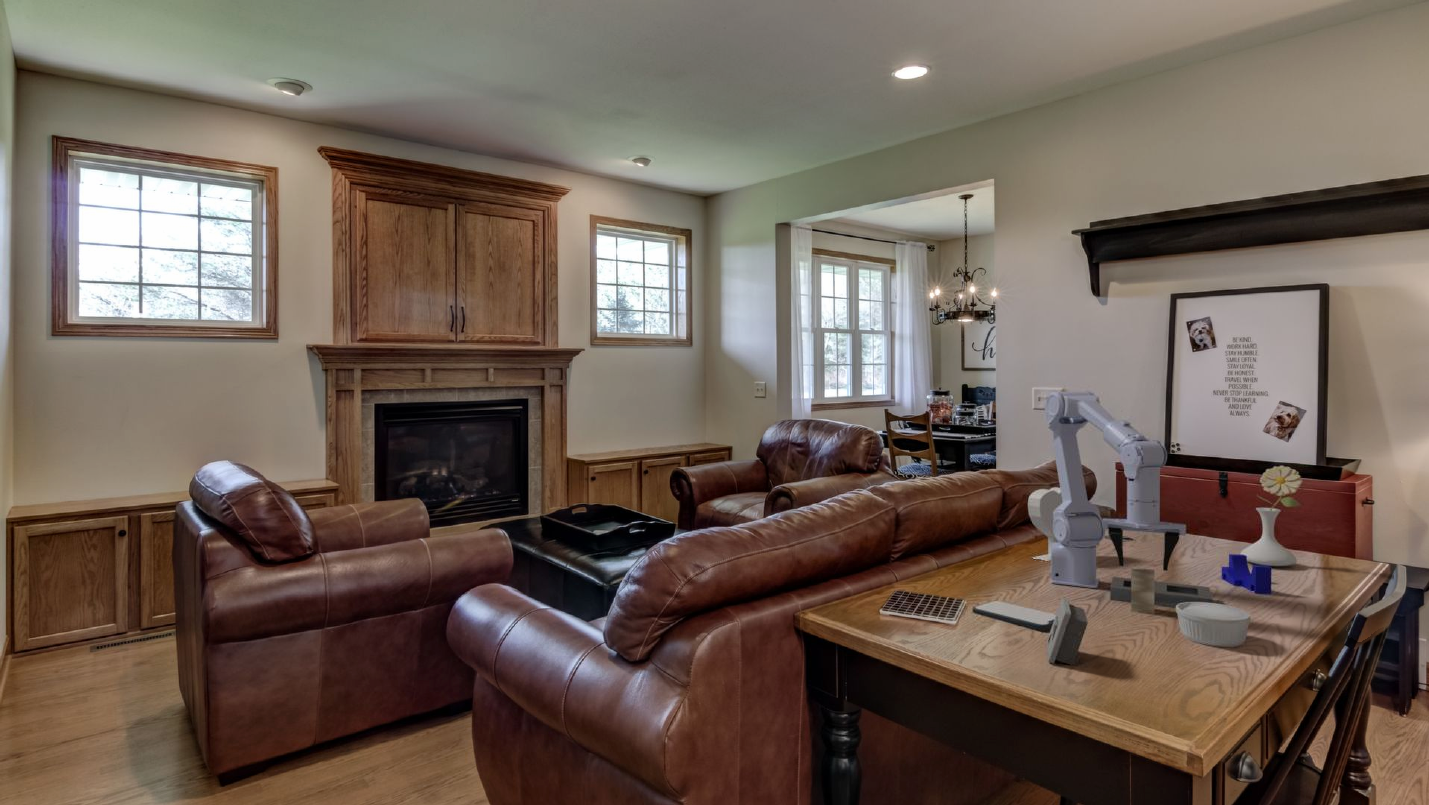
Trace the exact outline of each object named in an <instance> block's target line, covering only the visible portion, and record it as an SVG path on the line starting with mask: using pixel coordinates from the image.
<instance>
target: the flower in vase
mask: <svg viewBox="0 0 1429 805" xmlns="http://www.w3.org/2000/svg"><path fill="white" fill-rule="evenodd" d="M1301 477H1302V476H1301V475H1300V473H1299V471H1297V470H1296V469H1293V468H1291V467H1289V466H1284V465H1279V466H1276V465H1275V466H1273V467H1272V468H1267V469H1266V470H1265V472H1263V473H1262V476H1260V480H1259V482H1260V484H1261V487H1263V491H1266V492H1268V493H1270V494H1271V495H1275V496H1279V498H1278V499H1277V501H1276V502H1274V503H1272V502H1271V501H1270V500H1268V499H1266V498H1263V497H1261V496H1260V495H1258V494H1256V493H1255V494H1256V496H1257V497H1258V498H1259V499H1261V500H1263V501H1265V502H1266V503H1269V504H1272V506H1271V507H1256V508H1255V510H1256V511H1257V512H1258V513H1259V515H1260V518H1261V523H1262V534H1261V537H1260V539H1258V540H1257V541H1256V542H1254V543H1252V544H1251V545H1248V546H1247V547H1245V548H1244V549H1243V550H1241V552H1240V554H1241V555H1245V556H1247V562H1249V563H1252V564H1255V565H1262V566H1270V567H1288V566H1293V565H1295V564H1296V563H1297V561H1298V560H1297V557H1296V556H1295V555H1294V554H1293V553H1292V552H1291V551H1289V549H1287V548H1286V547H1284V546H1283V545H1282V544H1281V543H1279V542H1278V541H1277V539H1276V537H1275V522H1276V518H1277V517H1278V515H1279V513H1280V512H1282V510H1281V508H1280V509H1279V508H1275V506H1276V505H1278V503H1279V502H1280V503H1282V505H1283V506H1284V507H1288V508H1291V507H1301V506H1302V505H1301V504H1300V503H1299V501H1298V500H1296V499H1295V498H1294V497H1292V496H1287V497H1284V496H1286V495H1291V494H1294V493H1296V492H1297V491H1298V489H1299V488H1300V487H1301V485H1302V483H1303V479H1302V478H1301ZM1282 497H1283V498H1282Z"/></svg>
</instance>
